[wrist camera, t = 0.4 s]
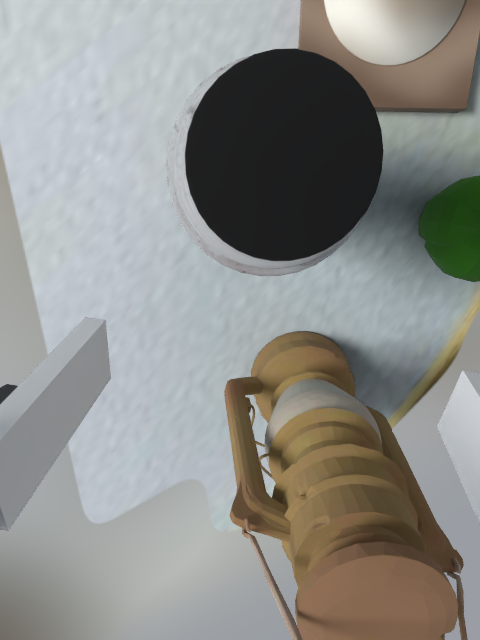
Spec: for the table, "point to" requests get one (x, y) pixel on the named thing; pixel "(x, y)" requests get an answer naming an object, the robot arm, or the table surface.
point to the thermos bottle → (274, 161)
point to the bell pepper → (454, 229)
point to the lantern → (338, 502)
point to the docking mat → (398, 48)
